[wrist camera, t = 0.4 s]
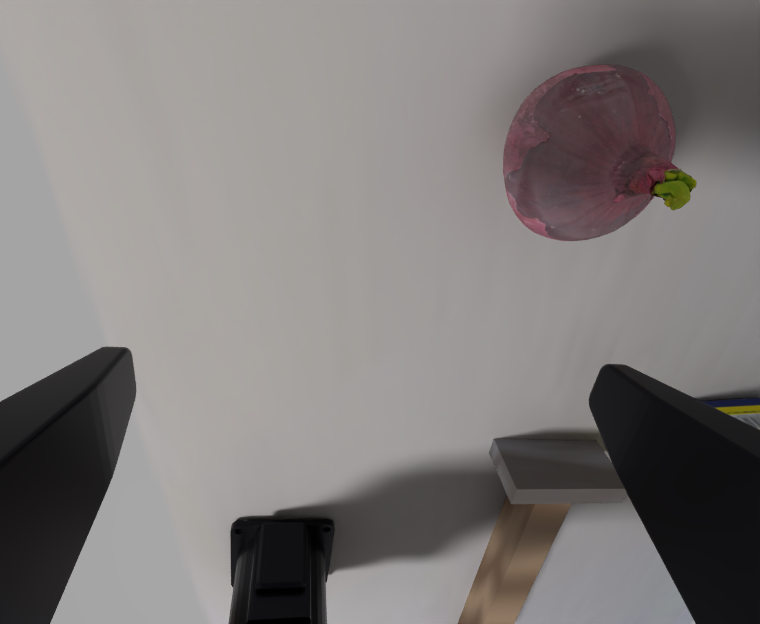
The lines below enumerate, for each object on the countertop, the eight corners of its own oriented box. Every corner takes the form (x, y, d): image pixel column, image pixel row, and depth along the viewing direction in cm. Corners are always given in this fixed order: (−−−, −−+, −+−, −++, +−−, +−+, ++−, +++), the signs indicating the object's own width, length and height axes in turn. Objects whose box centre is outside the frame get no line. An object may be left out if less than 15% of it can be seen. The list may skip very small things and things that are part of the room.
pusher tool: (508, 622, 42) (526, 675, 39) (429, 627, 41) (440, 682, 37) (594, 439, 32) (629, 488, 28) (493, 437, 31) (516, 489, 27)
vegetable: (600, 33, 20) (825, 37, 11) (615, 177, 23) (799, 266, 14) (457, 91, 20) (569, 138, 12) (490, 224, 23) (598, 339, 15)
